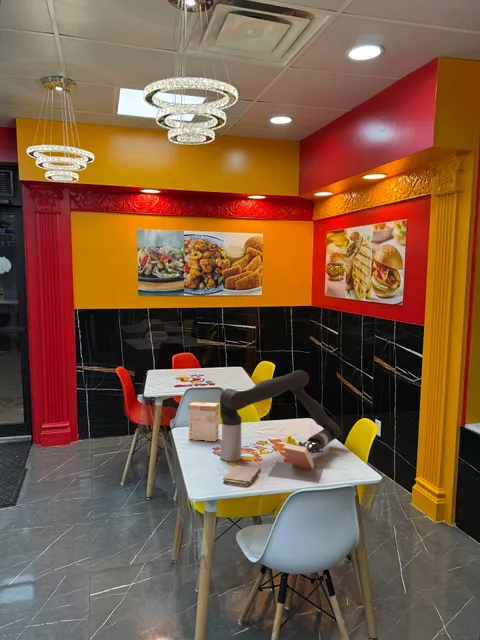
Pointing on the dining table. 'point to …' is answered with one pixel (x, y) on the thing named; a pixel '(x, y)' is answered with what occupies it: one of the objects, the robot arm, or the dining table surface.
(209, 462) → the dining table surface
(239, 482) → the washcloth
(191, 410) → the coffeecake box
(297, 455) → the tile
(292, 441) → the crumpled paper
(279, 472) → the mat
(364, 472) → the dining table surface
